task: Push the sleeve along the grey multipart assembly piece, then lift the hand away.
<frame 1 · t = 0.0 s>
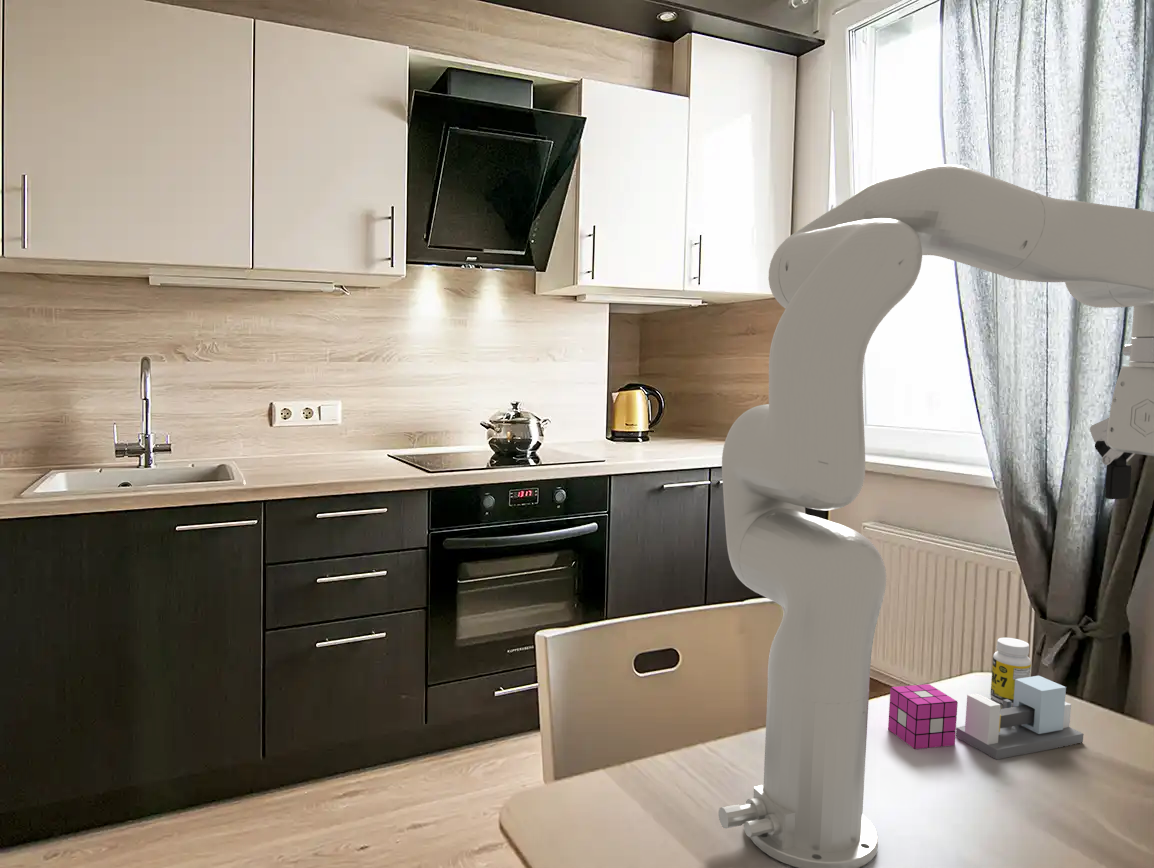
grey multipart assembly piece: (1018, 739, 108), on the table
sleeve: (1038, 704, 108), point 4 cm above the table, slide at 5.0 cm
supplement bottle: (1008, 701, 120), on the table
puzzle toy: (920, 739, 108), on the table
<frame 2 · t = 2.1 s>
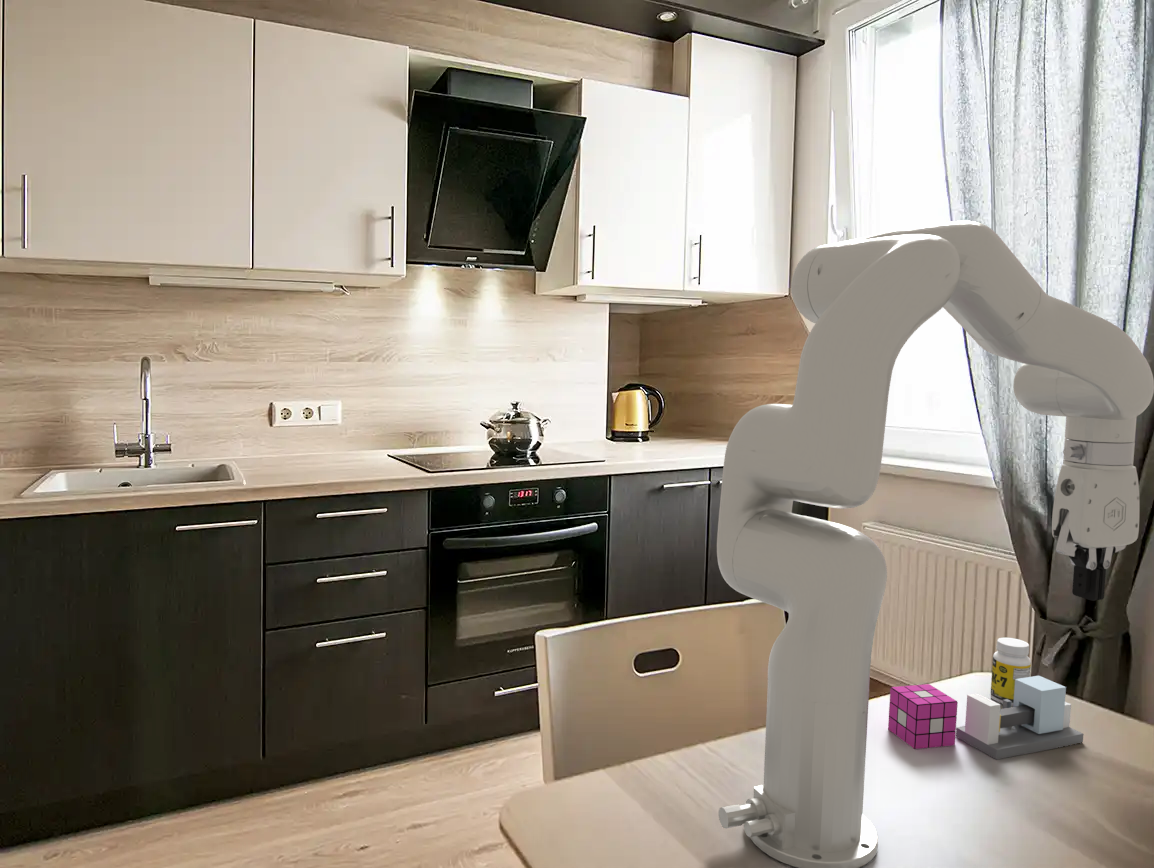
hand: (1087, 597, 110), 17 cm above the table, tool pointing down, fingers closed
nothing on the table moved.
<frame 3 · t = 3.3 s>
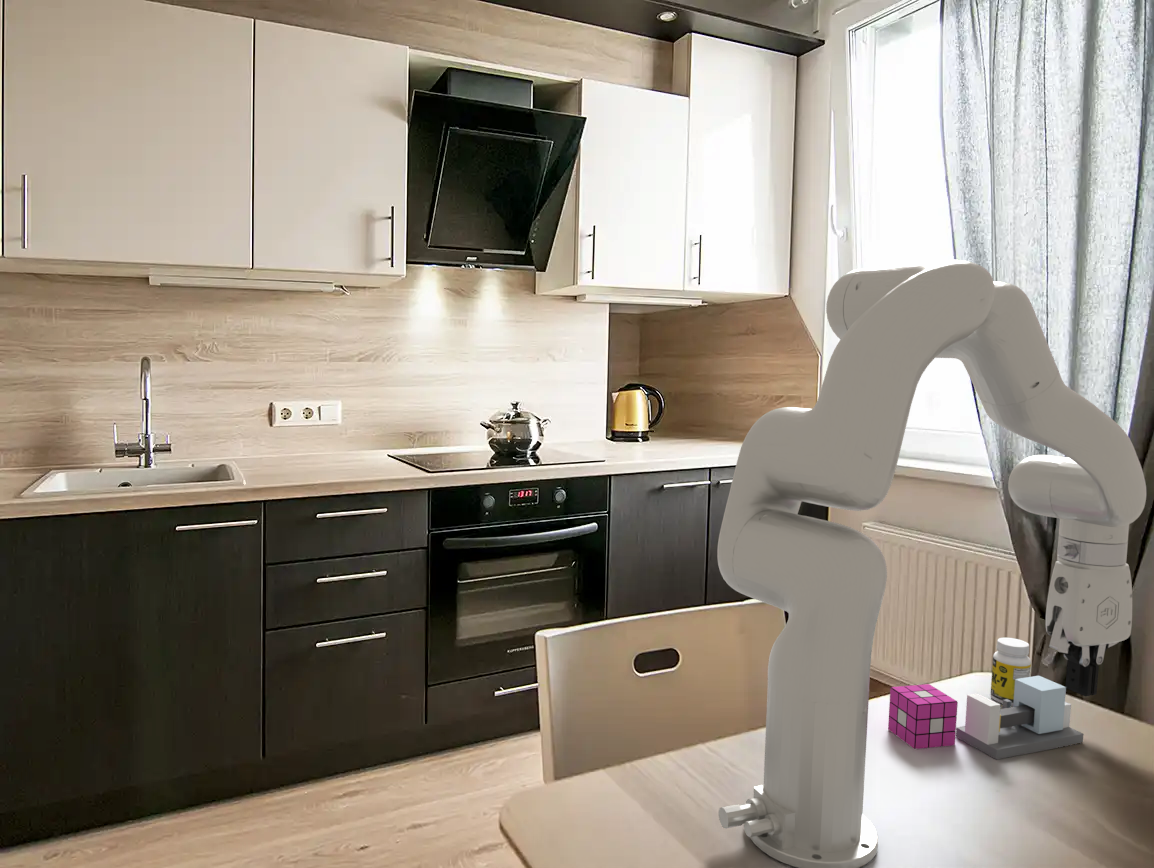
hand: (1080, 691, 111), 5 cm above the table, tool pointing down, fingers closed
nothing on the table moved.
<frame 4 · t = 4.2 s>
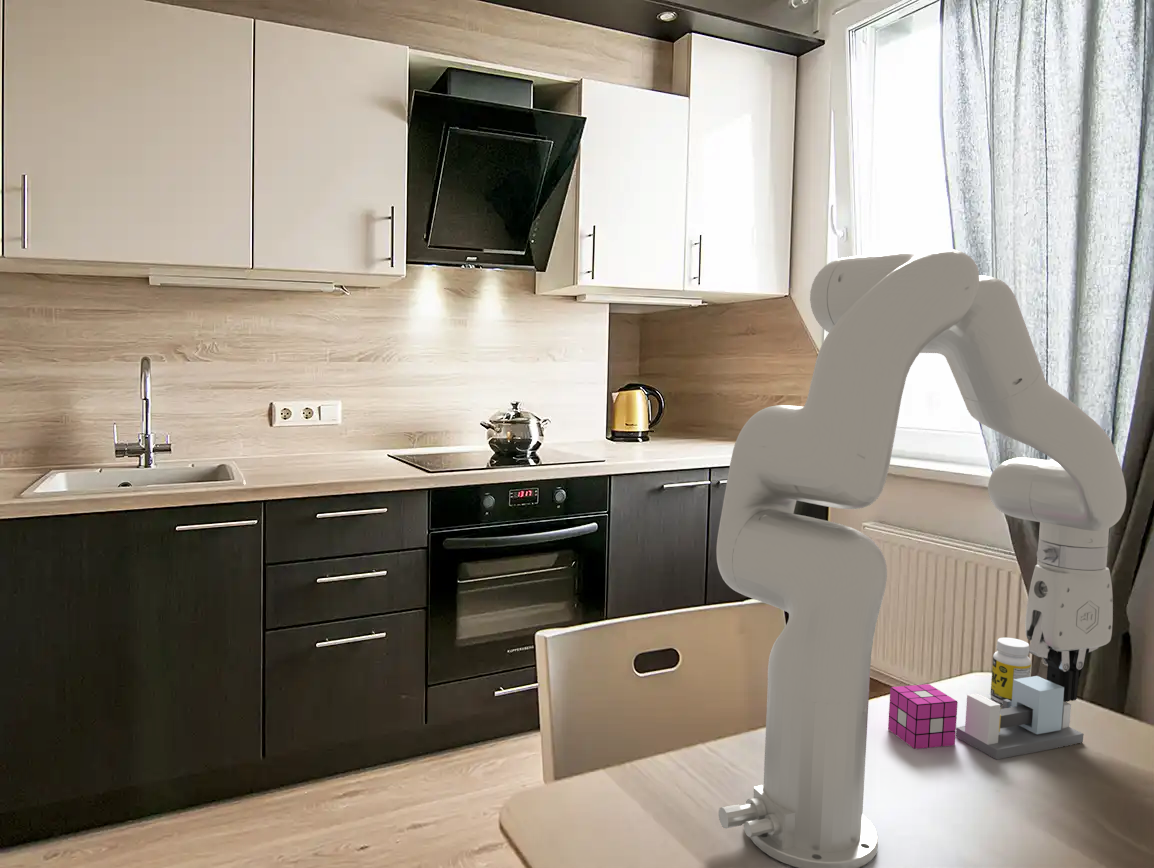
hand: (1060, 696, 110), 5 cm above the table, tool pointing down, fingers closed
sleeve: (1036, 704, 108), point 4 cm above the table, slide at 4.7 cm, touching gripper
everything else where it was.
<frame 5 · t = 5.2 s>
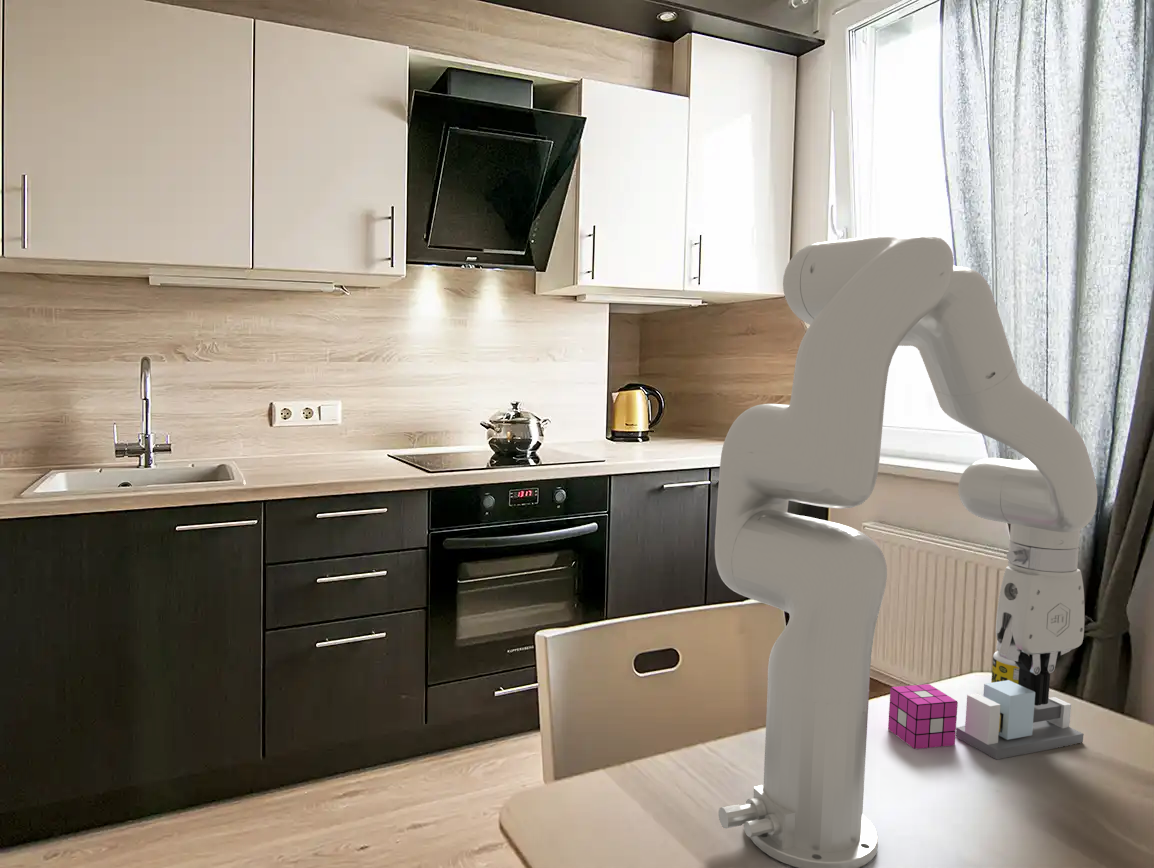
hand: (1032, 700, 108), 5 cm above the table, tool pointing down, fingers closed
sleeve: (1008, 709, 107), point 4 cm above the table, slide at -0.1 cm, touching gripper
everything else where it was.
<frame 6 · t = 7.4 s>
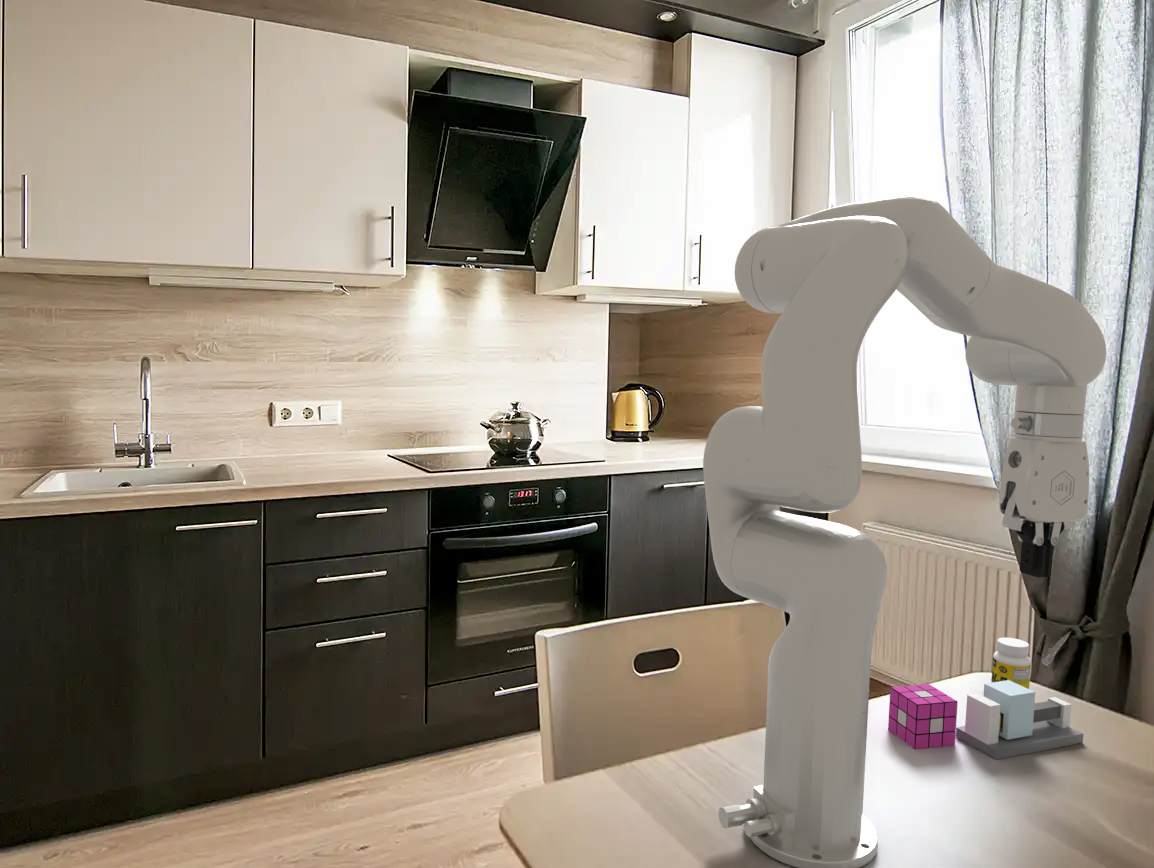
hand: (1034, 574, 107), 21 cm above the table, tool pointing down, fingers closed
sleeve: (1008, 709, 107), point 4 cm above the table, slide at -0.1 cm
everything else where it was.
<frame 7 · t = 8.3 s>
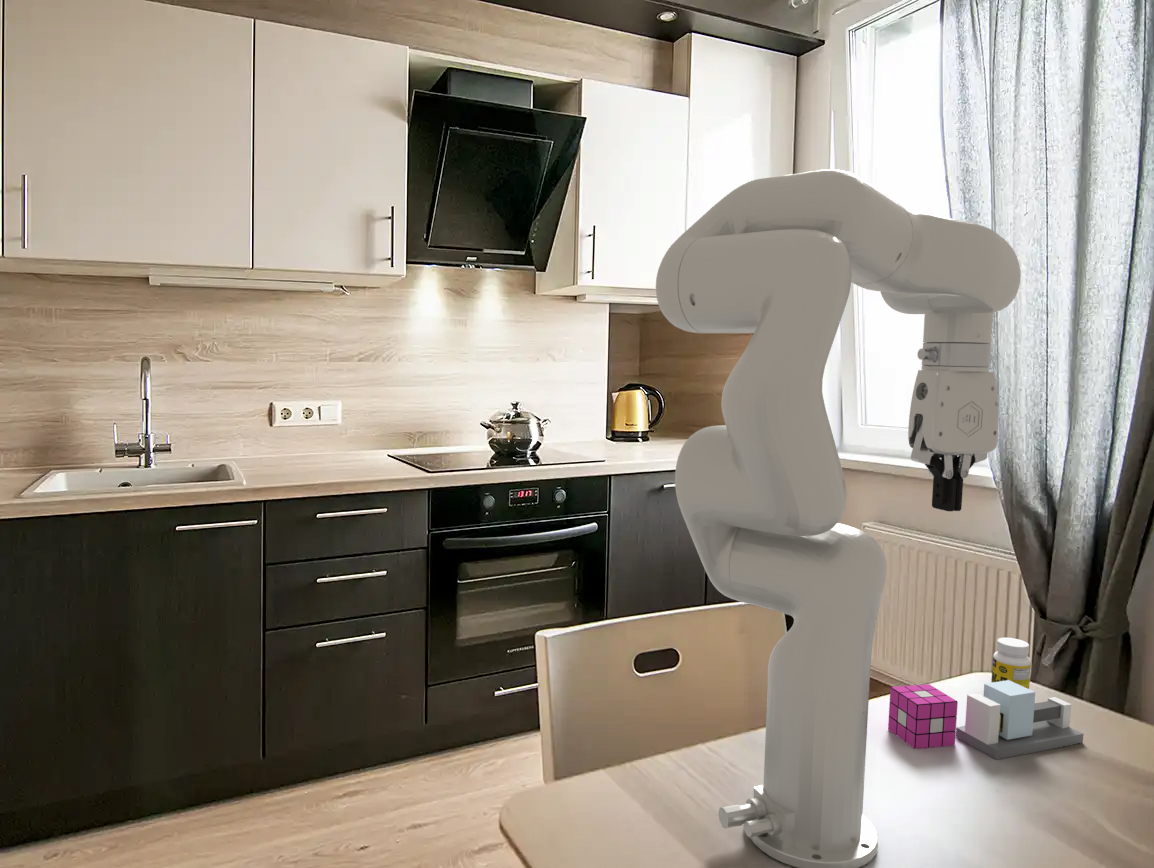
hand: (946, 508, 105), 29 cm above the table, tool pointing down, fingers closed
nothing on the table moved.
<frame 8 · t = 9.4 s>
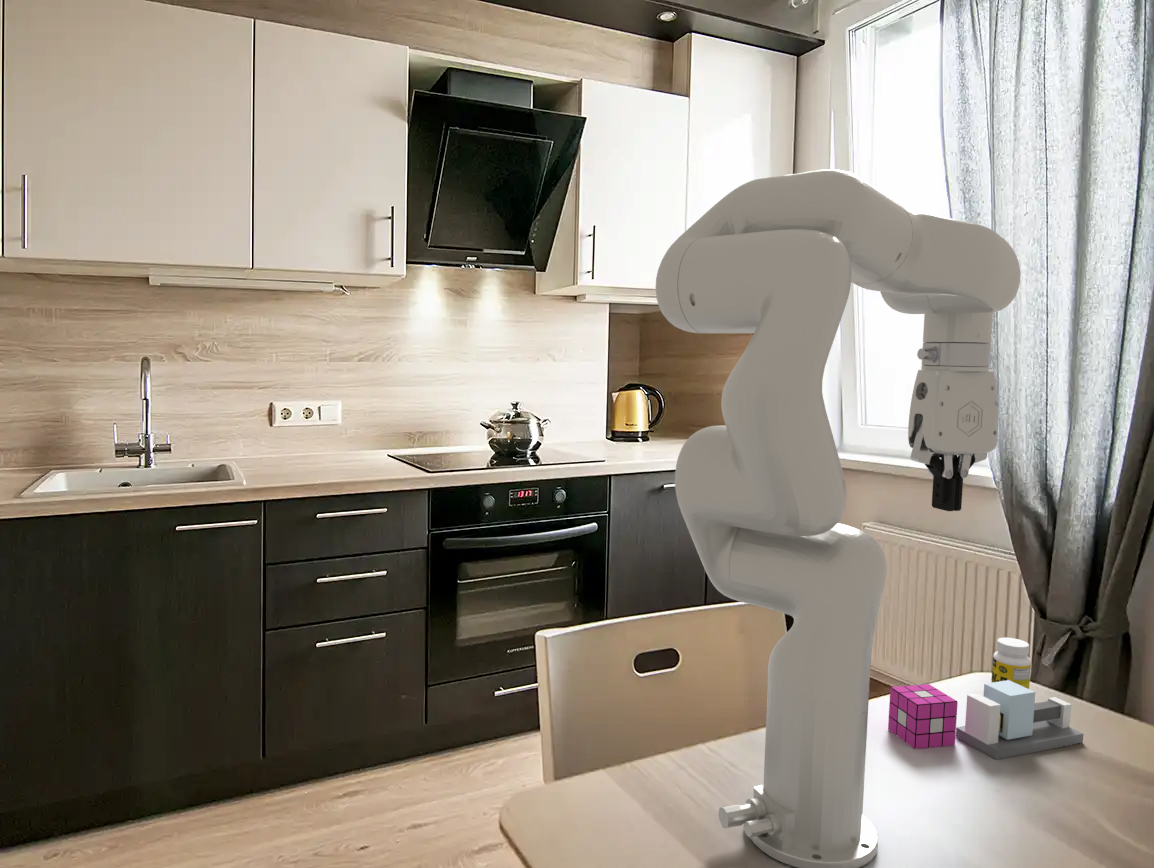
hand: (946, 508, 105), 29 cm above the table, tool pointing down, fingers closed
nothing on the table moved.
at the end: sleeve slide at -0.1 cm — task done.
